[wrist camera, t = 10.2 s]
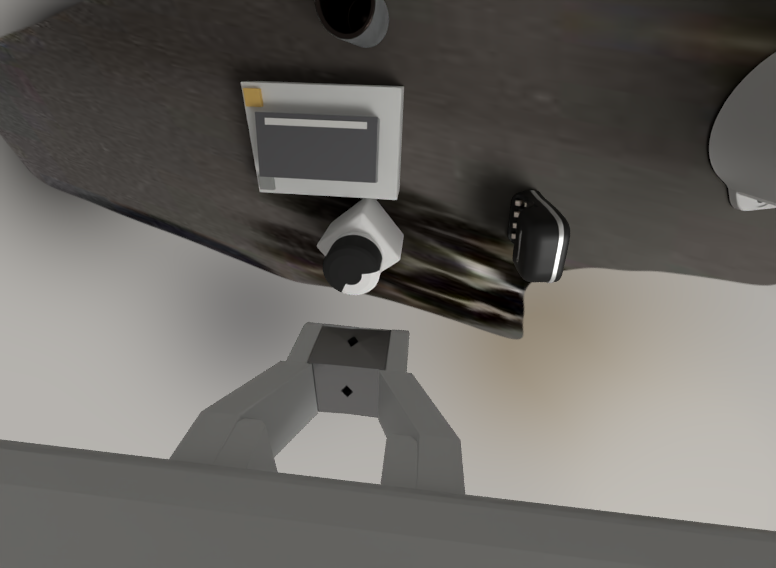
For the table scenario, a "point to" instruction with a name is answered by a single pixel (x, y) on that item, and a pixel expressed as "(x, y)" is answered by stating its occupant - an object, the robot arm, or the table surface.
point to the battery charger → (538, 237)
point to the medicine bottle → (360, 247)
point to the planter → (354, 20)
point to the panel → (332, 102)
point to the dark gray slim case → (318, 146)
